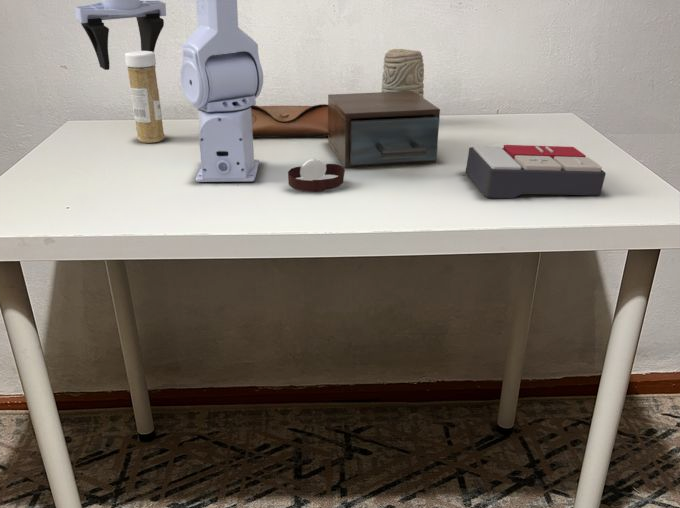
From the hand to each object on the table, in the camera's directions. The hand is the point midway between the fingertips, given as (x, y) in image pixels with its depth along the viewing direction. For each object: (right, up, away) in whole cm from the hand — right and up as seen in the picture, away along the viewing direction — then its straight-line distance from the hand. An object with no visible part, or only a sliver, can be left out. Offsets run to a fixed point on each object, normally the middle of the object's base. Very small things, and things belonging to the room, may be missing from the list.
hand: (126, 65), depth 116 cm
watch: (+32, -26, -23) cm, 47 cm away
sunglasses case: (+26, -11, +3) cm, 28 cm away
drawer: (+42, -19, -13) cm, 48 cm away
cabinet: (+41, -17, -9) cm, 45 cm away
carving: (+46, -7, +8) cm, 48 cm away
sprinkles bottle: (+4, -13, -1) cm, 13 cm away
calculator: (+60, -25, -22) cm, 69 cm away
